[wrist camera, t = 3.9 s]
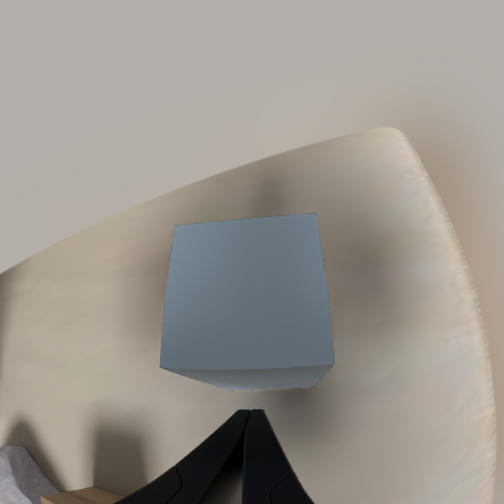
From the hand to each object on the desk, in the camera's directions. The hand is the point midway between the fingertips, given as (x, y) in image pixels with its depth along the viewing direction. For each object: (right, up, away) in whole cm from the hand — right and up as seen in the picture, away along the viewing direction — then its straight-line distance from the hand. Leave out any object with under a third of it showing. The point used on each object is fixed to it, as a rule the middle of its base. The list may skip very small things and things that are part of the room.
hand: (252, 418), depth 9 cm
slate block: (+1, -1, +10) cm, 10 cm away
